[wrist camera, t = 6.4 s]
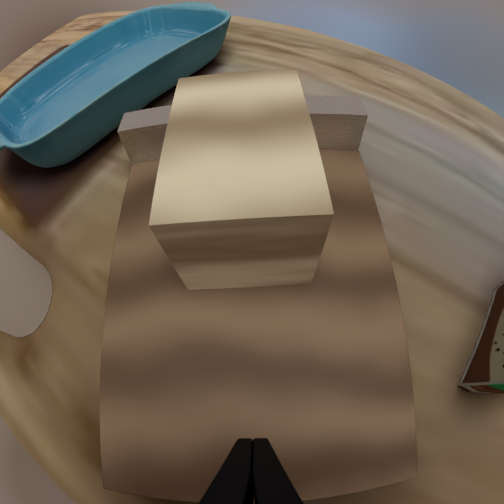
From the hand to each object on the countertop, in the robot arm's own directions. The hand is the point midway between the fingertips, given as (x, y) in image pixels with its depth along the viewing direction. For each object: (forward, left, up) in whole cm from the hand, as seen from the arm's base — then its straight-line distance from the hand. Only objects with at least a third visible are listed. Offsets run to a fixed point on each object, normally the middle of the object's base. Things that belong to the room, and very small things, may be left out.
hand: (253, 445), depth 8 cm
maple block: (+15, 0, -10) cm, 18 cm away
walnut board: (+9, 0, -11) cm, 14 cm away
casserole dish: (+38, +17, -12) cm, 43 cm away
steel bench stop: (+22, 0, -10) cm, 24 cm away
